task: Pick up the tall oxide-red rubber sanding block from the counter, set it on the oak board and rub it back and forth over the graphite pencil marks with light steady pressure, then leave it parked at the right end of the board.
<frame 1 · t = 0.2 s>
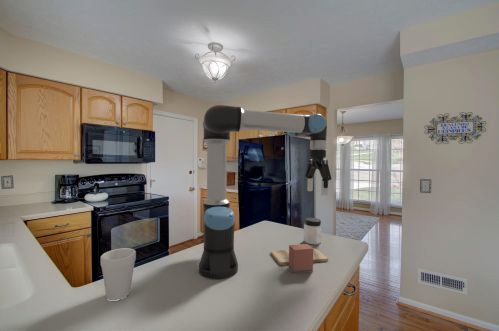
hand: (316, 193, 112), 28 cm above the countertop, fingers open, 13 cm apart
foam cup: (118, 296, 71), on the countertop
sanding block: (300, 269, 91), on the countertop
jar: (312, 242, 122), on the countertop
board: (298, 257, 102), on the countertop
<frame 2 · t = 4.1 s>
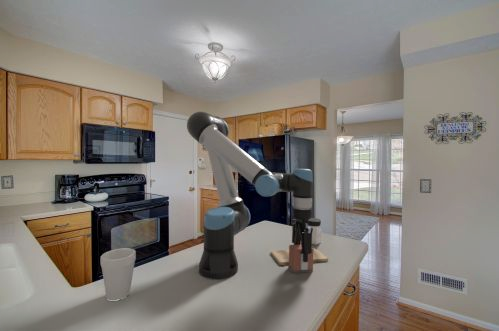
hand: (300, 265, 91), 1 cm above the countertop, fingers closed on sanding block, 5 cm apart
sanding block: (300, 269, 91), on the countertop, touching gripper
everything else where it was.
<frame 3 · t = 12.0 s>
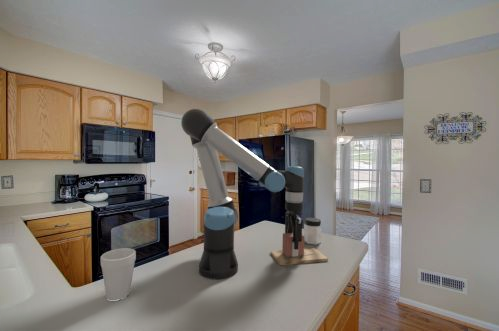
hand: (292, 253, 101), 2 cm above the countertop, fingers closed on sanding block, 5 cm apart
sanding block: (292, 254, 101), point 1 cm above the countertop, touching gripper
everything else where it was.
when the fingers open (3 cm above the countertop, at t = 16.4 s): sanding block stays where it is, resting on board.
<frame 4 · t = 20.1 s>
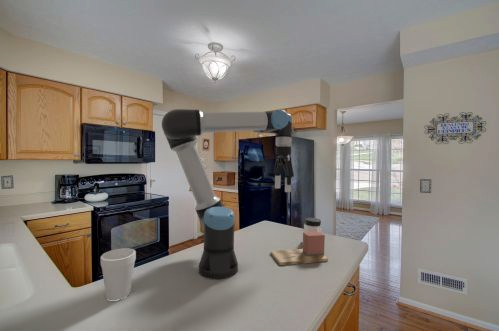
hand: (282, 190, 111), 29 cm above the countertop, fingers open, 13 cm apart
sanding block: (313, 253, 103), point 1 cm above the countertop, touching board
everything else where it was.
at the end: sanding block inside the target area on the board (1.5 cm from its centre), point 1.2 cm above the board's base; sanding block tilted 0°; the gripper is holding nothing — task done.
